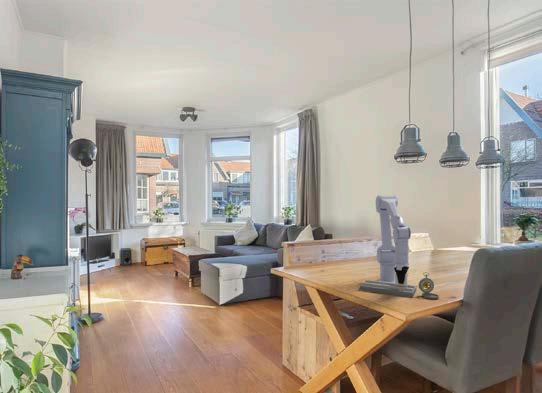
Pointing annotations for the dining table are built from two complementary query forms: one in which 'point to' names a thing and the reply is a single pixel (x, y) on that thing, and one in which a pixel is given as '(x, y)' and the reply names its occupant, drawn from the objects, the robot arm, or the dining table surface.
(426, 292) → the pocket watch
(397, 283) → the fader tab
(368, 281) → the fader console
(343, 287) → the dining table surface
